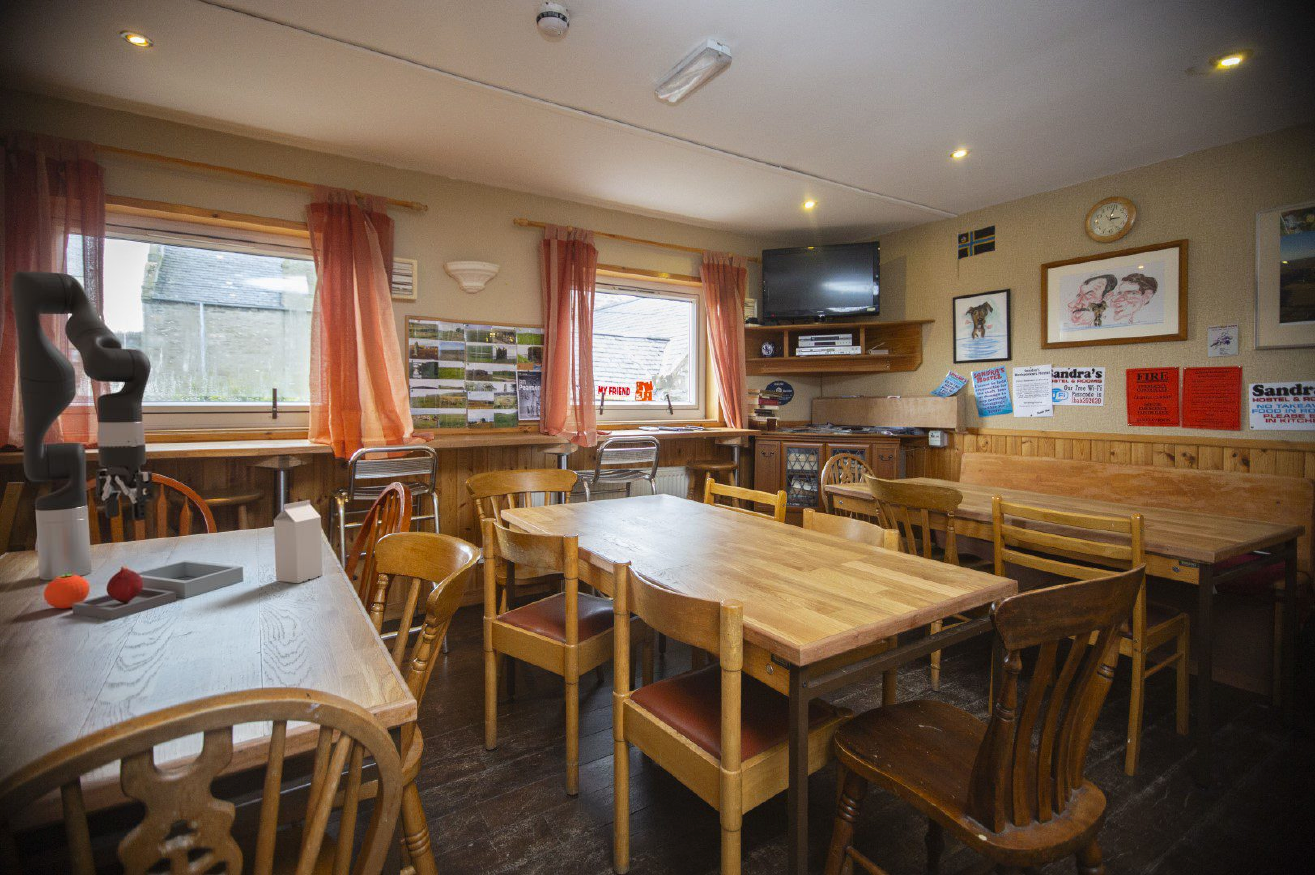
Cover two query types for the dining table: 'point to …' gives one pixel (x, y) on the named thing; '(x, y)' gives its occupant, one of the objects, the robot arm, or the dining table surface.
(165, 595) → the tray
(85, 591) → the clementine
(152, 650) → the dining table surface
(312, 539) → the milk carton
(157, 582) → the shallow gray box
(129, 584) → the onion
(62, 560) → the robot arm
